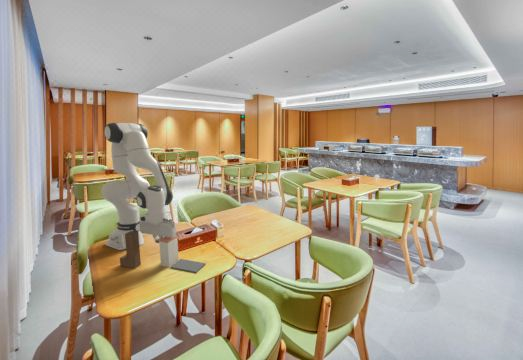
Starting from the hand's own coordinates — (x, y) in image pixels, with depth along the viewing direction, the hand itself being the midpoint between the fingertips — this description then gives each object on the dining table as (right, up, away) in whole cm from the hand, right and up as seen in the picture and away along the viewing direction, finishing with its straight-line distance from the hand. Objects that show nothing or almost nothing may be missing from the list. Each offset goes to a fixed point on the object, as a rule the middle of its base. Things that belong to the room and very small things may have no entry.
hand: (158, 242), depth 143 cm
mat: (+16, -11, -3) cm, 20 cm away
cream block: (+6, -11, 0) cm, 12 cm away
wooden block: (-13, -11, -3) cm, 17 cm away
